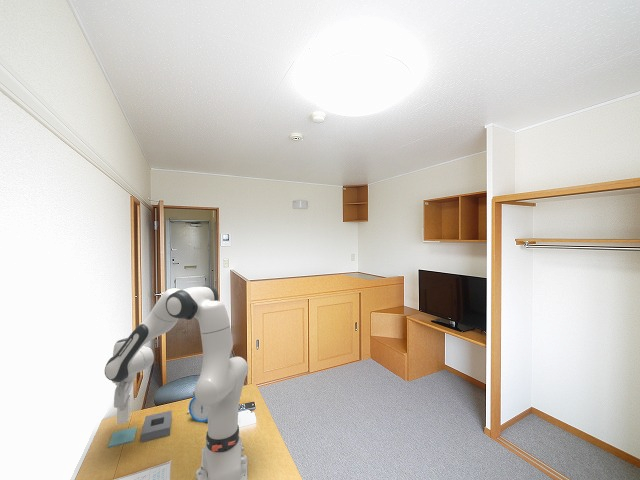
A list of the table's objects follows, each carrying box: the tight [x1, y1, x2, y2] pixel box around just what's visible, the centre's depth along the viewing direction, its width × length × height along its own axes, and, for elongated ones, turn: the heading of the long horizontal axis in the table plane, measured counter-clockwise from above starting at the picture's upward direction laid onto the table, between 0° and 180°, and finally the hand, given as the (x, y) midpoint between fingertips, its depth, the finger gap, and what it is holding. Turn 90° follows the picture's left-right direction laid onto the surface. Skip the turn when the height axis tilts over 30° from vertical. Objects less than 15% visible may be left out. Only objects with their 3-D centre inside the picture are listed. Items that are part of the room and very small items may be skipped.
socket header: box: [140, 410, 173, 443], centre depth 128 cm, size 14×11×4 cm
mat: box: [107, 426, 138, 449], centre depth 123 cm, size 10×9×1 cm
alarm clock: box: [188, 391, 210, 423], centre depth 137 cm, size 13×6×15 cm, turn 83°
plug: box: [116, 394, 131, 425], centre depth 123 cm, size 4×4×12 cm
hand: (123, 406), depth 123 cm, fingers closed on plug, 4 cm apart
